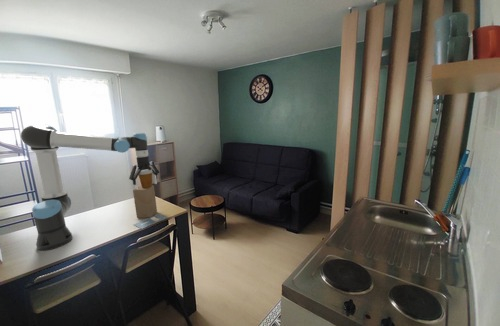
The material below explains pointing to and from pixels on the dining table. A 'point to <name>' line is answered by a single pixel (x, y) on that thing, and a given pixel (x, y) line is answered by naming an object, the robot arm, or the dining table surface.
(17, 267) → the dining table surface
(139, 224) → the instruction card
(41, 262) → the dining table surface
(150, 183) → the disposable coffee cup
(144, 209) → the wooden block
